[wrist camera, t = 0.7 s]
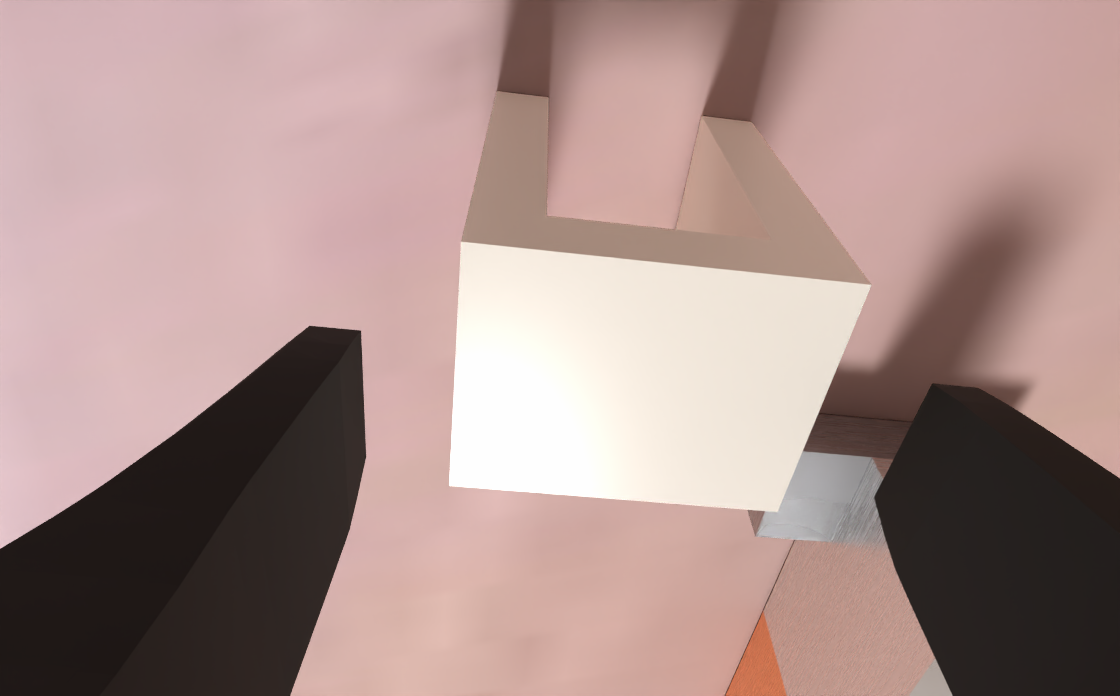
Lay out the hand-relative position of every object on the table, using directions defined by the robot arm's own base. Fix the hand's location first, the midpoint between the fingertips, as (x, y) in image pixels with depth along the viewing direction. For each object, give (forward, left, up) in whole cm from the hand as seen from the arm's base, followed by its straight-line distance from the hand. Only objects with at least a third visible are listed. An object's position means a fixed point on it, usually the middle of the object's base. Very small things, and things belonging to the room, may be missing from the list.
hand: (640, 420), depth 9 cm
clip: (0, 0, -7) cm, 7 cm away
